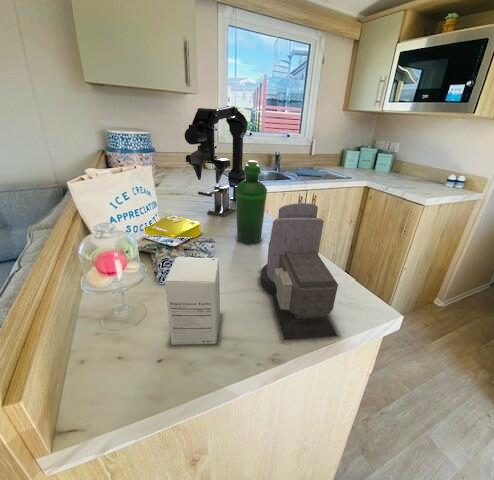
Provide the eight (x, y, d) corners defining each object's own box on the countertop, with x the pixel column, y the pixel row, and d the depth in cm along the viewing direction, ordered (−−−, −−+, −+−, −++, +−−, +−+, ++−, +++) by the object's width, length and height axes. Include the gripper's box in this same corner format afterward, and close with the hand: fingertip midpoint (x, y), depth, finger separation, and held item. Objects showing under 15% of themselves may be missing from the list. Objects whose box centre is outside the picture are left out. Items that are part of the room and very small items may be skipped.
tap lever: (210, 198, 109) (210, 192, 108) (197, 196, 111) (197, 190, 110) (229, 193, 122) (229, 188, 121) (217, 191, 124) (217, 186, 123)
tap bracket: (223, 216, 120) (223, 190, 115) (208, 213, 123) (207, 187, 118) (234, 210, 129) (235, 185, 124) (220, 207, 131) (219, 182, 126)
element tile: (140, 237, 95) (138, 225, 93) (172, 224, 107) (171, 213, 105) (174, 248, 90) (173, 235, 88) (203, 233, 102) (202, 221, 100)
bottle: (268, 237, 103) (274, 161, 91) (255, 248, 94) (259, 165, 82) (243, 231, 107) (246, 157, 95) (228, 241, 98) (229, 160, 86)
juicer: (256, 266, 83) (261, 187, 73) (307, 265, 86) (318, 188, 76) (274, 340, 57) (285, 231, 46) (346, 335, 60) (371, 231, 49)
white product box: (180, 314, 62) (175, 255, 55) (220, 314, 62) (220, 256, 56) (169, 345, 53) (162, 280, 47) (216, 345, 54) (215, 281, 48)
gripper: (174, 141, 106) (177, 181, 113) (214, 147, 100) (215, 189, 106) (193, 140, 116) (195, 177, 122) (231, 145, 109) (230, 183, 116)
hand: (208, 181), depth 116 cm, fingers open, 9 cm apart
